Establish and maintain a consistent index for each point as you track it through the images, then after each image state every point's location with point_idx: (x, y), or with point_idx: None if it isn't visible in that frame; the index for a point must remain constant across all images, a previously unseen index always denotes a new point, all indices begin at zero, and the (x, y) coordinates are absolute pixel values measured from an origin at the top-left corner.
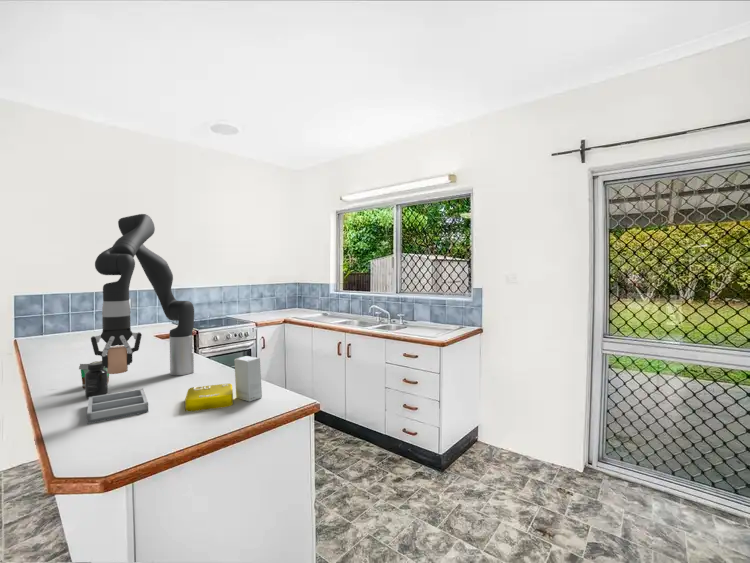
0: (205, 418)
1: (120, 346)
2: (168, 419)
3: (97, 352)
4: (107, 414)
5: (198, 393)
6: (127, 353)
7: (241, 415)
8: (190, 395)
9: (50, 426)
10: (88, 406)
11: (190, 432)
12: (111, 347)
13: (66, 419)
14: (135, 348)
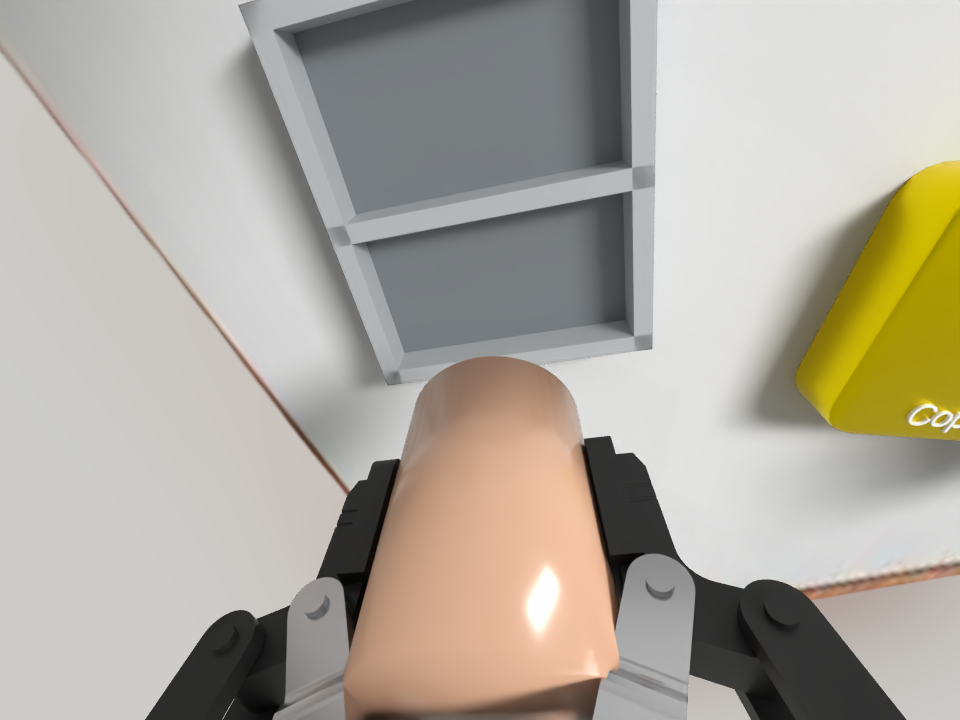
0: (822, 483)
1: (526, 684)
2: (700, 441)
3: (276, 705)
4: None
5: (944, 355)
6: (615, 579)
7: (944, 507)
8: (885, 371)
9: (251, 324)
10: (344, 268)
11: (732, 551)
12: (388, 697)
13: (271, 258)
14: (750, 695)
